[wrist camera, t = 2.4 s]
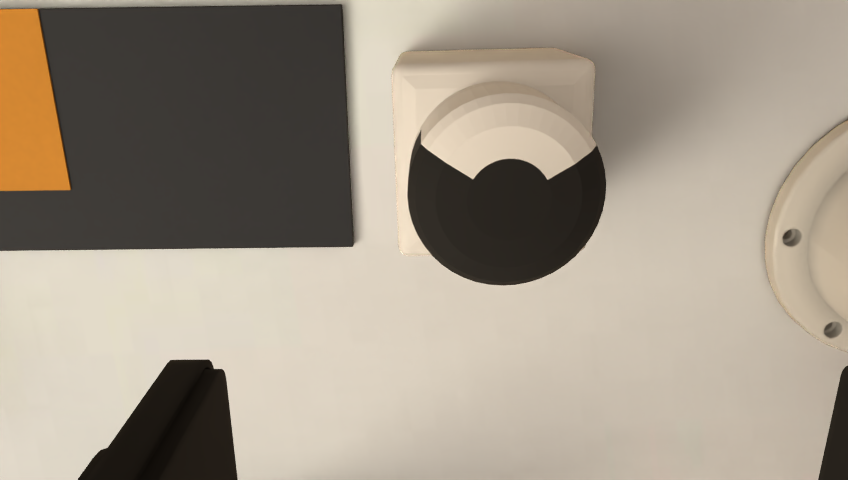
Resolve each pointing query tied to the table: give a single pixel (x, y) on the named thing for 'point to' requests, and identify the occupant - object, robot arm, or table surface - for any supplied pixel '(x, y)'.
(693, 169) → the table surface
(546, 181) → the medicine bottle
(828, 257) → the robot arm
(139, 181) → the desk mat
